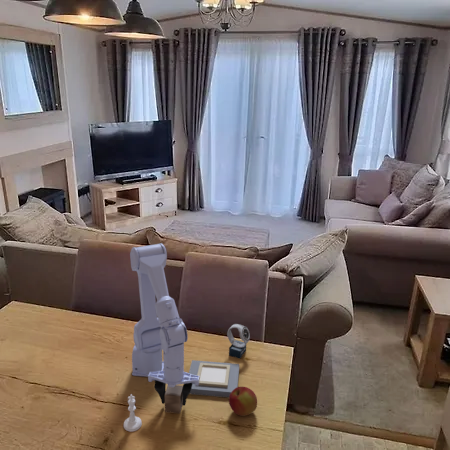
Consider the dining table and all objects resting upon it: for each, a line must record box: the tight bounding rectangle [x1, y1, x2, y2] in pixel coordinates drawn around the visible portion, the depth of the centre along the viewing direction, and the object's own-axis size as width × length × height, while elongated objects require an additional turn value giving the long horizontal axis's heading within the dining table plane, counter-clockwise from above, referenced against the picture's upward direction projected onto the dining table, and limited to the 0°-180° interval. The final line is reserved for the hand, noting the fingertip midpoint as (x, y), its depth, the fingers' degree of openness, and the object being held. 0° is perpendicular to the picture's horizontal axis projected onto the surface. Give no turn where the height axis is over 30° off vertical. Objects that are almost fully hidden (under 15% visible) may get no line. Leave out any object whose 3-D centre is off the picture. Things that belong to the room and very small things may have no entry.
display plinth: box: [188, 359, 240, 398], centre depth 133 cm, size 16×14×3 cm
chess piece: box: [123, 393, 143, 432], centre depth 113 cm, size 5×5×10 cm
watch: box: [226, 323, 251, 360], centre depth 146 cm, size 6×8×11 cm
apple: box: [228, 386, 258, 417], centre depth 119 cm, size 8×8×8 cm
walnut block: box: [164, 384, 183, 414], centre depth 121 cm, size 4×4×6 cm
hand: (174, 402), depth 121 cm, fingers open, 5 cm apart
